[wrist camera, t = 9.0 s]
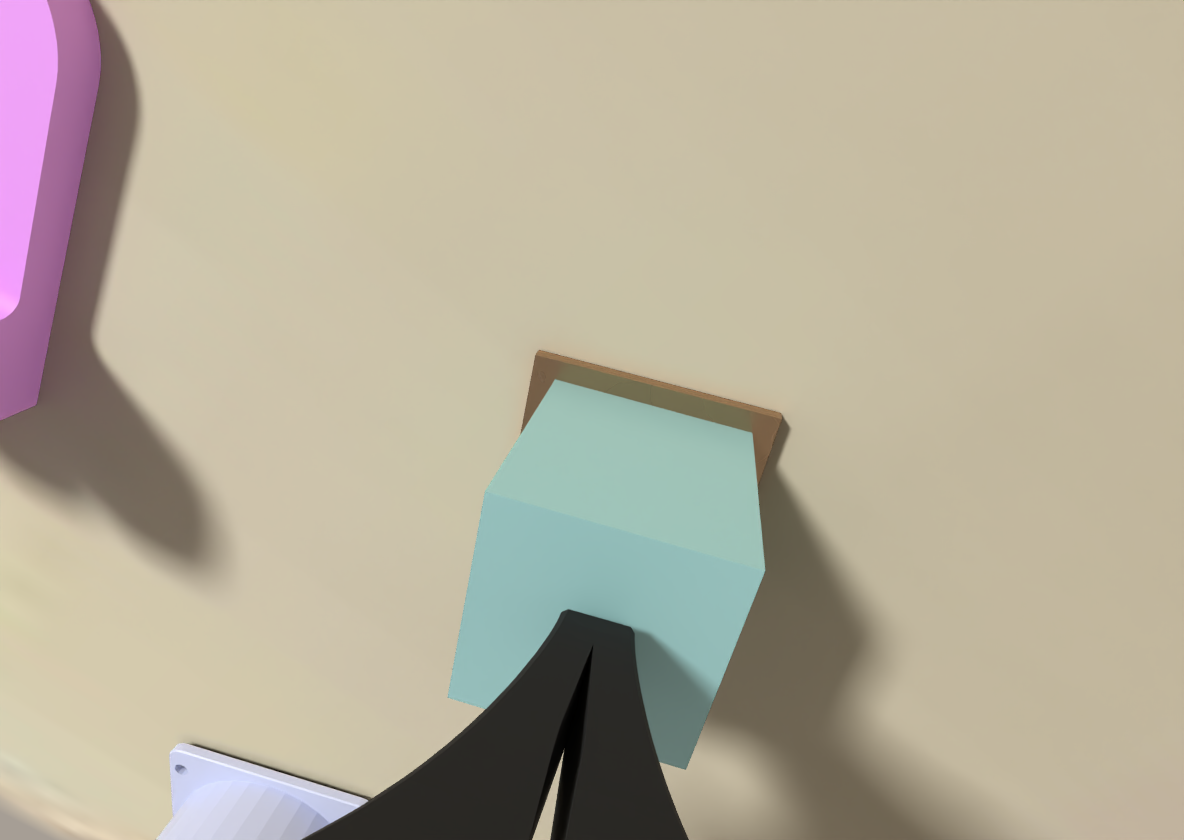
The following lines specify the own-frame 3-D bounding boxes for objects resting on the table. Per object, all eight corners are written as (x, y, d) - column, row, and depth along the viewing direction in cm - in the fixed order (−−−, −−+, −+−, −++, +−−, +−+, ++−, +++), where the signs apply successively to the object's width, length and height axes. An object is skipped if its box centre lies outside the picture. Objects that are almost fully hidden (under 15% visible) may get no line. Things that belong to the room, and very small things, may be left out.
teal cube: (695, 593, 20) (685, 769, 15) (520, 543, 21) (447, 697, 15) (752, 433, 18) (764, 570, 13) (555, 379, 18) (485, 491, 13)
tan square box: (711, 607, 21) (708, 725, 17) (501, 549, 21) (450, 650, 17) (780, 412, 18) (797, 497, 14) (539, 349, 19) (489, 414, 15)
